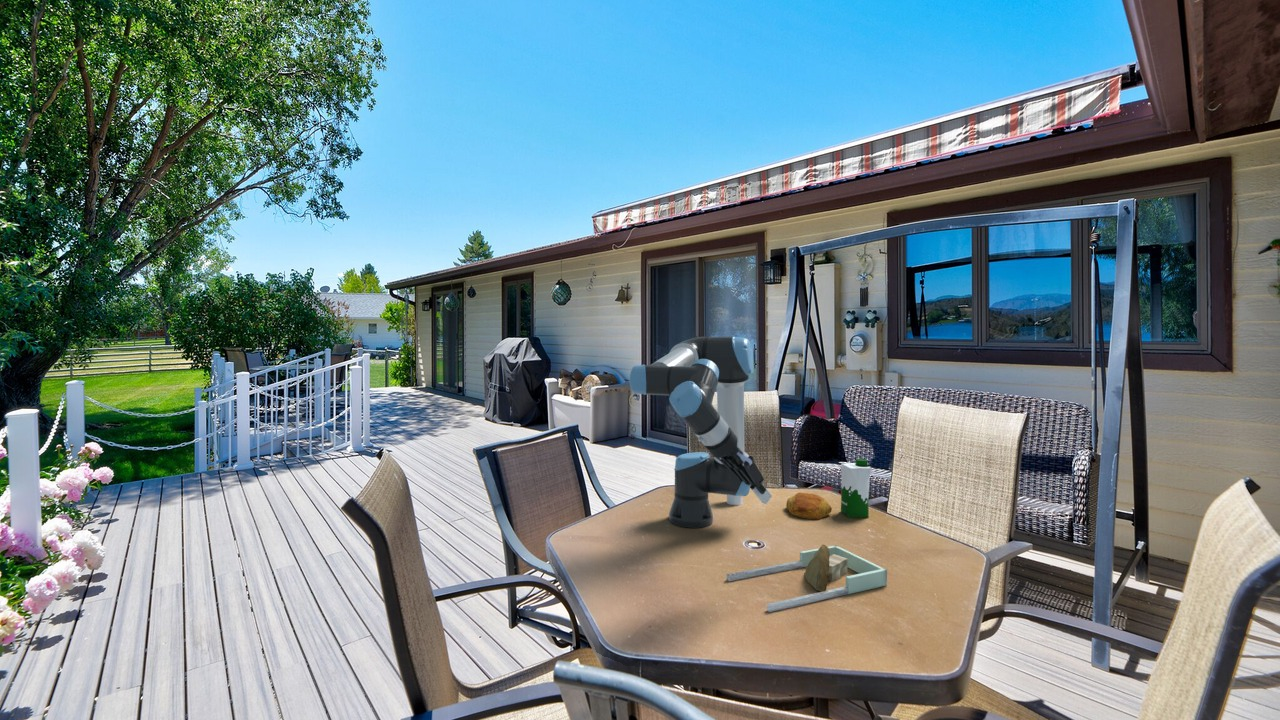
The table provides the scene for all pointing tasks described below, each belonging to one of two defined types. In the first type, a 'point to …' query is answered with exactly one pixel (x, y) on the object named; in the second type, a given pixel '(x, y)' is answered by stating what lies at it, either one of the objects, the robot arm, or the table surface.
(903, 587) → the table surface
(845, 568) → the beige cube
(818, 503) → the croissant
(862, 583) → the tray pen
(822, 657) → the table surface
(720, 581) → the table surface
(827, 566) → the rock
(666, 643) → the table surface
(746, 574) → the slot rails
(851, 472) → the milk carton
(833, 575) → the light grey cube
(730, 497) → the drinking glass
